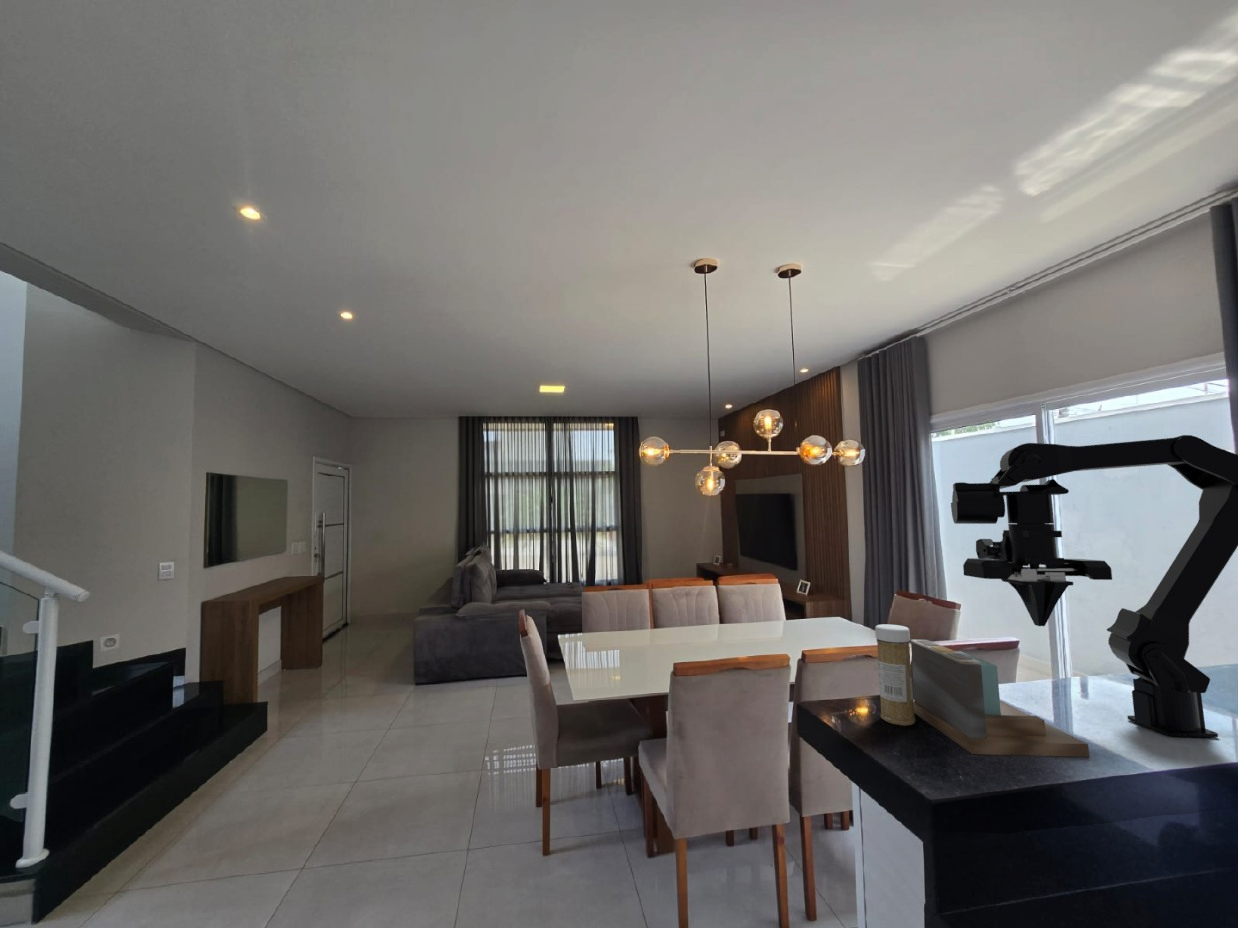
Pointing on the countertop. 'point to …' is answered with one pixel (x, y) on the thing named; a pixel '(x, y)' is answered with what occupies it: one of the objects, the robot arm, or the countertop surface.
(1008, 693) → the countertop surface
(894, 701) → the sprinkles bottle
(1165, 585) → the robot arm
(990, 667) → the paddle button
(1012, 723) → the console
